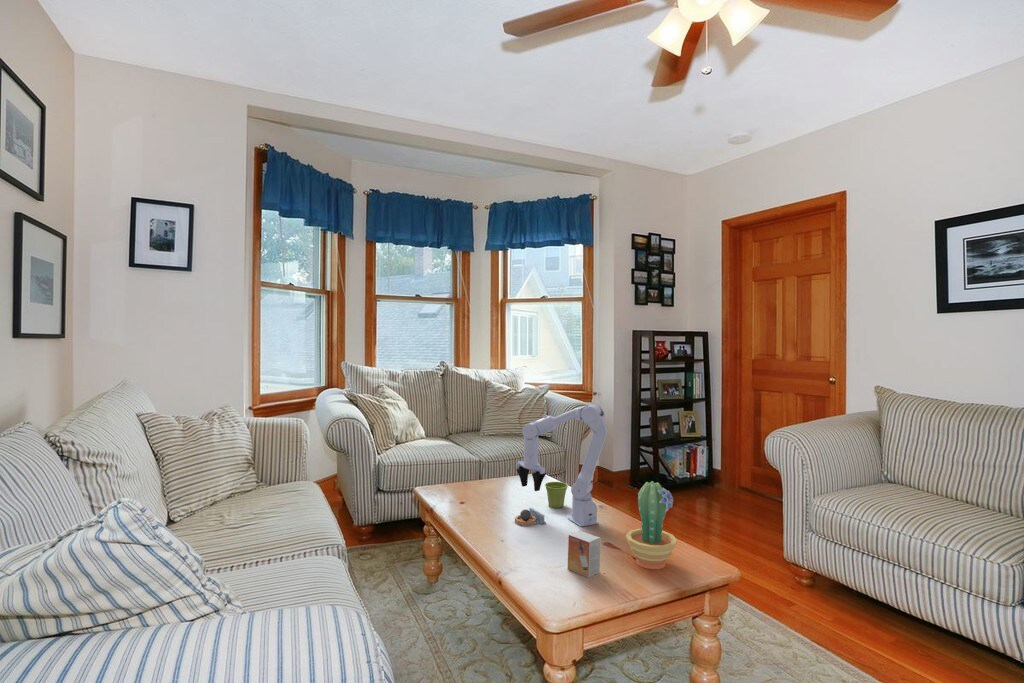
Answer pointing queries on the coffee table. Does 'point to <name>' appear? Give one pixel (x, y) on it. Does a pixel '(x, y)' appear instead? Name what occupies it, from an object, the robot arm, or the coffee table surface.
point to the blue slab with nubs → (537, 516)
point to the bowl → (525, 523)
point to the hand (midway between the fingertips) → (530, 488)
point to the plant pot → (556, 493)
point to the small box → (584, 553)
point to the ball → (525, 515)
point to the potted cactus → (652, 528)
